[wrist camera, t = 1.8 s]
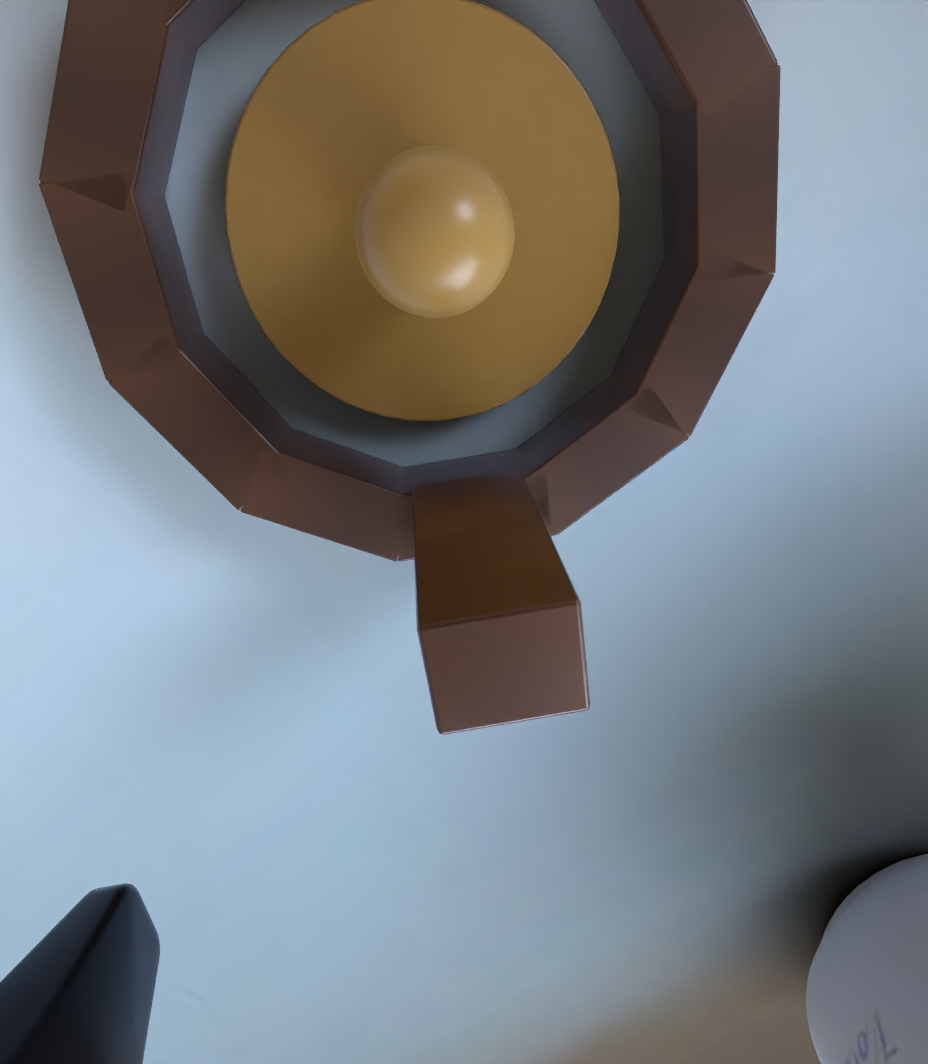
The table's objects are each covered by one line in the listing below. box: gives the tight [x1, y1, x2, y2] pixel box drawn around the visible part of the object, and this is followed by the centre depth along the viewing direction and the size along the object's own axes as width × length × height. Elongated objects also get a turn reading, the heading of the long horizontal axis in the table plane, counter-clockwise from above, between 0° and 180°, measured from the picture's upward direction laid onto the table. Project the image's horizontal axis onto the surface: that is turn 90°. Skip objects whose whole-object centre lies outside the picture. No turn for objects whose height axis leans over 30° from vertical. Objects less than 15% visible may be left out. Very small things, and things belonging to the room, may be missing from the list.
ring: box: [39, 0, 780, 734], centre depth 12 cm, size 14×14×8 cm
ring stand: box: [224, 0, 620, 421], centre depth 13 cm, size 8×8×6 cm
